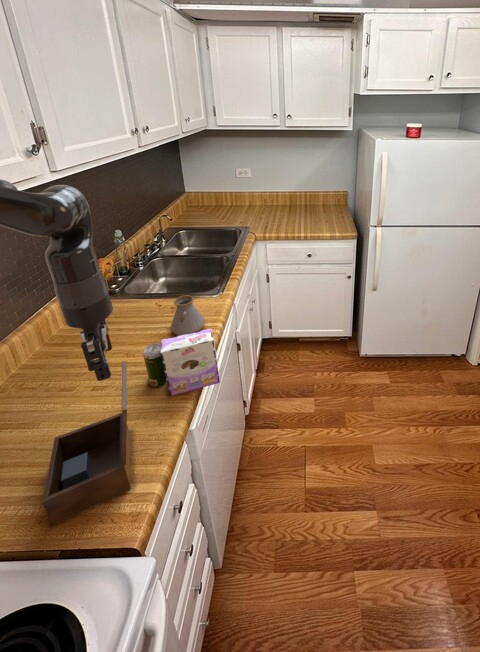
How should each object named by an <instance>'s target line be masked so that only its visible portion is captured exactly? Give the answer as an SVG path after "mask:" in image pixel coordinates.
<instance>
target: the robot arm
mask: <svg viewBox="0 0 480 652" xmlns="http://www.w3.org/2000/svg"><path fill="white" fill-rule="evenodd" d="M92 220H93V219H92V212H91V208H90V204H89V202H88V200H87V199H86V196H85V195H84V194H83V193H82V192H81V190H78V189H77V188H75V187H74V186H70V185H68V184H56V185H51V186H49V187H48V188H45V189H44V190H42V191H40V192H28V191H24V190H19V189H17V186H16V185H14V183H12V182H10V181H8V180H5V179H2V178H0V226H1V227H2V228H5V229H9V230H11V231H15V232H19V233H21V234H25V235H27V236H28V235H29V236H33V237H39V238H40V237H41V238H49V239H50V240H49V244H48V247H47V248H46V250H45V254H44V255H45V256H44V257H45V262H46V265H47V268H48V271H49V274H50V277H51V279H52V282H53V289H54V294H55V296H56V299H57V301H58V305H59V307H60V310H61V313H62V316H63V319H64V322H65V324H66V325H67V326H68V327H70V328H74V329H81V330H80V333H79V334H80V340H82V342H81V344H80V348H81V349H82V353H83V356H84V359H85V362H86V365H87V370H88V371H89V373H90V372H93V371H94V374H95V378H96V380H97V381H98V382H101V381H104V380H105V381H106V380H108V379H110V378H111V377H112V372H111V369H110V366H109V362H108V357H107V352H110V351H112V350H113V344H112V342H111V338H110V335H109V334H110V328H109V326H110V325H109V324H110V323H109V321H108V318H109V317H110V315H112V313H113V311H114V307H113V303H112V299H111V296H110V293H109V289H108V286H107V282H106V278H105V276H104V274H103V272H102V270H101V267H100V264H99V261H98V260H99V259H98V256H97V253H96V250H95V248H94V233H93V232H94V231H93V221H92Z"/></svg>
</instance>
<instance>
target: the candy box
mask: <svg viewBox="0 0 480 652" xmlns="http://www.w3.org/2000/svg"><path fill="white" fill-rule="evenodd" d="M214 339H215V338H214V333H213V329H212V328H208V329H204V330H200V331H199V332H195V333H190V334H186V335H181V336H178V335H176V336H173V337H168V338H164V339H163V338H162V339H161V343H160V344H161V357H162V362H163V366H164V371H165V375H166V380H167V382H166V384H167V388H168V394H169V396H170V397H171V396H175V395H176V396H177V395H180V394H184V393H187V392H191V391H195V390H199V389H203V388H206V387H209V386H214V385H218V384H220V381H221V380H220V373H219V366H218V365H219V364H218V359H217V350H216V344H215V340H214Z"/></svg>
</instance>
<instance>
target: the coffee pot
mask: <svg viewBox="0 0 480 652" xmlns="http://www.w3.org/2000/svg"><path fill="white" fill-rule="evenodd" d="M194 300H195V299H194V296H193V295H190V294H186V295H181V296H179V297H176V299H175V300H174V301H173V304H174V305H175V306H176V309H175V312H174V315H173V318H172V321H171V325H170V330H171V331H172V333H173V334H174V335H176V336H181V335H186V334H190V333H195V332H199V331H202V329H203V326H204V325H205V317H204V316H203V315H202V314H201V312H200V311H199V309H198V308H197V306H195V304H194Z"/></svg>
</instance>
